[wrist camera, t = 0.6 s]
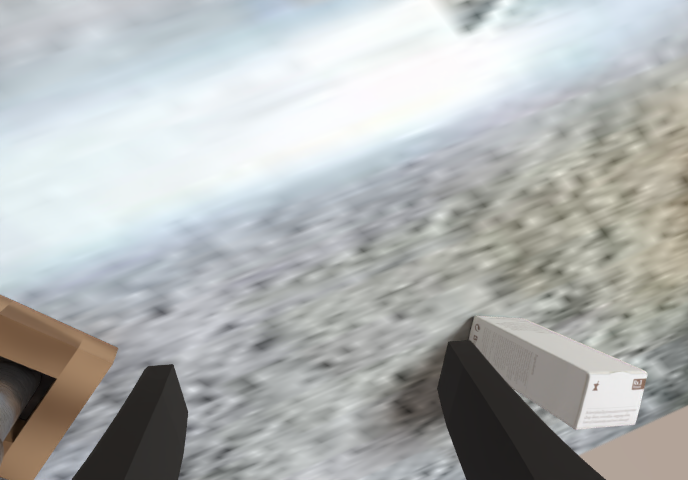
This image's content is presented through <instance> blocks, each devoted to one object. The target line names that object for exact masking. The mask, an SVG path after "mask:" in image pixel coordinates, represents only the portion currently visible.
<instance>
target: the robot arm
mask: <svg viewBox="0 0 688 480" xmlns="http://www.w3.org/2000/svg"><path fill="white" fill-rule="evenodd" d="M437 390H438V394H439V398H440V402H441V406H442V410H443V414H444V418H445V422H446V426H447V428H448V431H449V434H450V437H451V439H452V442H453V445H454V448H455V450H456V453H457V456H458V458H459V461H460V464H461V466H462V469H463V472H464V474H465V477H466V479H467V480H606V479H604V478H603V477H602V476H601V475H600V474H599V473H598V472H596V471H595V470H594V469H593V468H592V467H591V466H590V465H588V464H587V463H586V462H585V461H584V460H583V459H582V458H581V457H579V456H578V455H577V454H576V453H575V452H574V451H573V450H572V449H571V448H570V447H569V446H568V445H567V444H566V443H565V442H564V441H562V440H561V439H560V438H559V437H558V436H557V435H556V434H555V433H554V432H553V431H552V430H551V429H550V428H549V427H548V426H547V425H546V424H545V423H544V422H543V421H542V420H541V419H540V418H539V417H538V416H537V414H536V413H535V412H534V411H533V410H532V409H531V408H530V407H529V406H528V405H527V404H526V403H525V402H524V401H523V400H522V398H521V397H520V396H519V395H518V394H517V393H516V392H515V391H514V390H513V389H512V388H511V386H510V385H509V384H508V383H507V382H506V381H505V380H504V378H503V377H502V376H501V375H500V374H499V373H498V372H497V370H496V369H495V368H494V367H493V366H492V365H491V363H490V362H489V361H488V360H487V359H486V358H485V356H484V355H483V354H482V353H481V352H480V350H479V349H478V348H477V347H476V346H475V345H474V343H473V342H472V341H471V340H465V341H453V342H448V346H447V350H446V354H445V358H444V363H443V367H442V371H441V375H440V379H439V384H438V388H437ZM187 418H188V410H187V407H186V404H185V400H184V397H183V394H182V391H181V388H180V384H179V381H178V378H177V375H176V372H175V368H174V365H173V364H170V365H158V366H148V367H147V368H146V369H145V370H144V371H143V373H142V375H141V377H140V378H139V380H138V382H137V383H136V385H135V387H134V388H133V390H132V392H131V393H130V395H129V396H128V398H127V400H126V401H125V403H124V404H123V406H122V408H121V409H120V411H119V412H118V414H117V415H116V417H115V418H114V420H113V422H112V423H111V425H110V426H109V427H108V429H107V430H106V432H105V433H104V435H103V436H102V438H101V439H100V441H99V442H98V444H97V445H96V447H95V448H94V450H93V451H92V452H91V454H90V455H89V457H88V458H87V460H86V461H85V462H84V464H83V465H82V466H81V468H80V469H79V470H78V472H77V473H76V474H75V476H74V477H73V478H72V480H178V477H179V472H180V468H181V463H182V459H183V454H184V446H185V437H186V428H187Z"/></svg>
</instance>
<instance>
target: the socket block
mask: <svg viewBox="0 0 688 480" xmlns="http://www.w3.org/2000/svg"><path fill="white" fill-rule="evenodd" d="M117 350H118V348H117V347H115V346H113V345H110V344H108V343H106V342H104V341H102V340H99V339H97V338H95V337H93V336H91V335H88V334H86V333H84V332H82V331H79V330H77V329H75V328H73V327H71V326H68V325H66V324H64V323H62V322H60V321H57V320H55V319H53V318H51V317H49V316H46V315H44V314H42V313H40V312H37V311H35V310H33V309H31V308H29V307H26V306H24V305H22V304H20V303H18V302H15V301H13V300H11V299H9V298H7V297H4V296H2V295H0V356H2V357H4V358H7V359H9V360H12V361H14V362H17V363H19V364H22V365H24V366H27V367H29V368H32V369H34V370H37V371H39V372H41V373H44V374H46V375H49V376H51V377H54V378H55V380H54V381H53V383H52V384H51V386H50V387H49V389H48V390H47V391H46V393H45V394H44V396H43V397H42V399H41V400H40V402H39V403H38V405H37V406H36V407H35V409H34V410H33V412H32V413H31V415H30V416H29V418H28V419H27V421H25V420H22V419H19V418H18V419H17V420H16V422H15V424H14V425H13V427H12V428H11V430H10V431H9V433H8V435H7V436H6V438H5V439H4V441H3V442H2V443H3V447H4V456H3V460H2V463H1V466H0V477H2V478H5V479H8V480H34V478H35V477H36V475H37V474H38V472H39V471H40V469H41V468H42V467H43V465H44V464H45V462H46V461H47V459H48V458H49V456H50V455H51V453H52V452H53V450H54V449H55V447H56V446H57V445H58V443H59V442H60V440H61V439H62V437H63V436H64V434H65V433H66V431H67V430H68V428H69V427H70V426H71V424H72V423H73V421H74V420H75V418H76V417H77V415H78V414H79V412H80V411H81V409H82V408H83V406H84V405H85V404H86V402H87V401H88V399H89V398H90V396H91V395H92V393H93V392H94V390H95V389H96V387H97V386H98V385H99V383H100V382H101V380H102V379H103V377H104V376H105V374H106V373H107V371H108V370H109V368H110V367H111V365H112V364H113V362H114V359H115V356H116V353H117Z"/></svg>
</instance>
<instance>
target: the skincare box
mask: <svg viewBox="0 0 688 480" xmlns="http://www.w3.org/2000/svg"><path fill="white" fill-rule="evenodd" d="M469 340H471V341H472V342H473V343H474V345H475V346H476V347H477V348H478V349H479V350H480V352H481V353H482V354H483V355H484V356H485V358H486V359H487V360H488V361H489V362H490V363H491V365H492V366H493V367H494V368H495V369H496V370H497V372H498V373H499V374H500V375H501V376H502V377H503V378H504V380H505V381H506V382H507V383H508V384H509V385H510V386H511V388H513V389H514V390H516V391H517V392H519V393H520V394H522V395H523V396H525V397H526V398H528V399H530V400H531V401H533V402H534V403H536V404H537V405H539V406H540V407H542V408H543V409H545V410H546V411H548V412H549V413H551V414H553V415H554V416H556V417H557V418H559V419H560V420H562V421H563V422H565V423H566V424H567V425H569V426H570V427H572V428H573V429H575V430H579V429H588V428H599V427H611V426H623V425H634V424H635V422H636V419H637V416H638V412H639V408H640V403H641V399H642V395H643V390H644V386H645V382H646V378H647V372H646V371H644V370H642V369H639V368H637V367H635V366H633V365H630V364H628V363H626V362H624V361H621V360H619V359H617V358H614V357H612V356H610V355H607V354H605V353H603V352H600V351H598V350H596V349H593V348H591V347H589V346H586V345H584V344H582V343H579V342H577V341H575V340H572V339H570V338H568V337H565V336H563V335H561V334H558V333H556V332H554V331H552V330H549V329H547V328H545V327H542V326H540V325H538V324H535V323H533V322H531V321H528V320H526V319H523V318H506V317H488V316H475V317H474V320H473V323H472V327H471V331H470V336H469Z"/></svg>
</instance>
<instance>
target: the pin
mask: <svg viewBox="0 0 688 480" xmlns="http://www.w3.org/2000/svg"><path fill="white" fill-rule="evenodd" d="M40 381H41V372H39V371H37V370H34V369H32V368H29V367H27V366H24V365H22V364H19V363H17V362H14V361H12V360H9V359H7V358H4V357H2V356H0V466H1V463H2V460H3V456H4V447H3V443H2V442H3V441H4V439H5V438H6V436H7V435H8V433H9V431H10V430H11V428H12V427H13V425H14V424H15V422H16V420H17V419H18V417H19V416H20V414H21V412H22V411H23V409H24V408H25V406H26V405H27V403H28V401H29V400H30V398H31V397H32V395H33V394H34V392H35V390H36V389H37V387H38V386H39V384H40Z"/></svg>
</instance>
